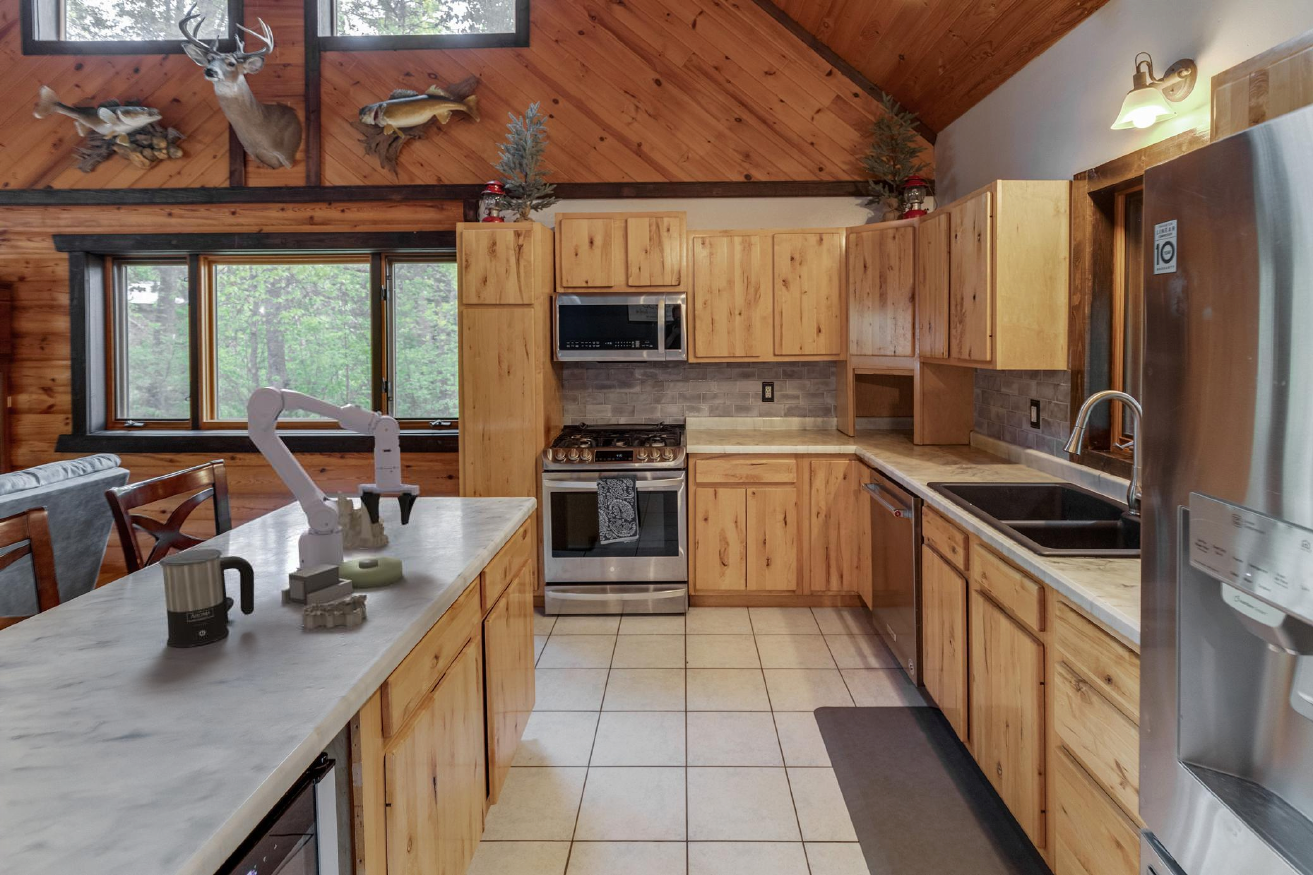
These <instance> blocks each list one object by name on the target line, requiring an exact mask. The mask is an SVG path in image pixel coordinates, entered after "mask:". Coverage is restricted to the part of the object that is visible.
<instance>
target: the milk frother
mask: <svg viewBox="0 0 1313 875" xmlns="http://www.w3.org/2000/svg"><path fill="white" fill-rule="evenodd" d="M222 554H223V551H222V550H219V549H207V548H206V549H203V548H202V549H192V550H187V551H182V552H177V553H172V554H170V555H167V556H164V557H162V558H161V559H160V560H159V561H158V564H159V565H160V566H161V568H162V575H163V583H164V594H165V604H166V615H167V630H168V631H167V632H168V634H167V635H168V637H167V640H166V643H167V645H168V646H171V647H176V648H189V647H197V646H202V645H206V644H210V643H212V642H215V641H218V640H221V639H223V638H224V637H226V636H227V635H228V634H229V632H230V630H229V628H228V624H229V611H230V610H231V609H232V607H233V606H234V604H235V601H234V599H233V598H232V597H230V596H227V588H226V580H225V579H226V578H225V577H226V576H225V571H226V570H233V569H235V570H237V571H238V572H239V588H240V589H239V591H240V594H239V596H240V611H241V613H242V614H243V615H246V616H248V615H251V614H253V613H254V611H255V572H254V567H253V566H252V564H251V563H250V562H249V561H248V560H246V559H245V558H243V557H241V556H236V555H235V556H233V555H231V556H222ZM221 556H222V557H221Z"/></svg>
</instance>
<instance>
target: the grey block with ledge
mask: <svg viewBox="0 0 1313 875" xmlns="http://www.w3.org/2000/svg"><path fill="white" fill-rule="evenodd" d="M337 584H339V566H334V565H328V564H319V565H315V566H312V567H309V568H306V569H303V570H297V571H293V572H290V573H288V588H289V589H290V601H289V603H290V604H295V603H296V604H297V605H300V606H301V605H302V606H305V605H306V606H305V607H307V605H308V602H307V595H308V594H311V593H314V592H317V591H320V590H322V589H325V588H328V587H331V586H334V585H337Z"/></svg>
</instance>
